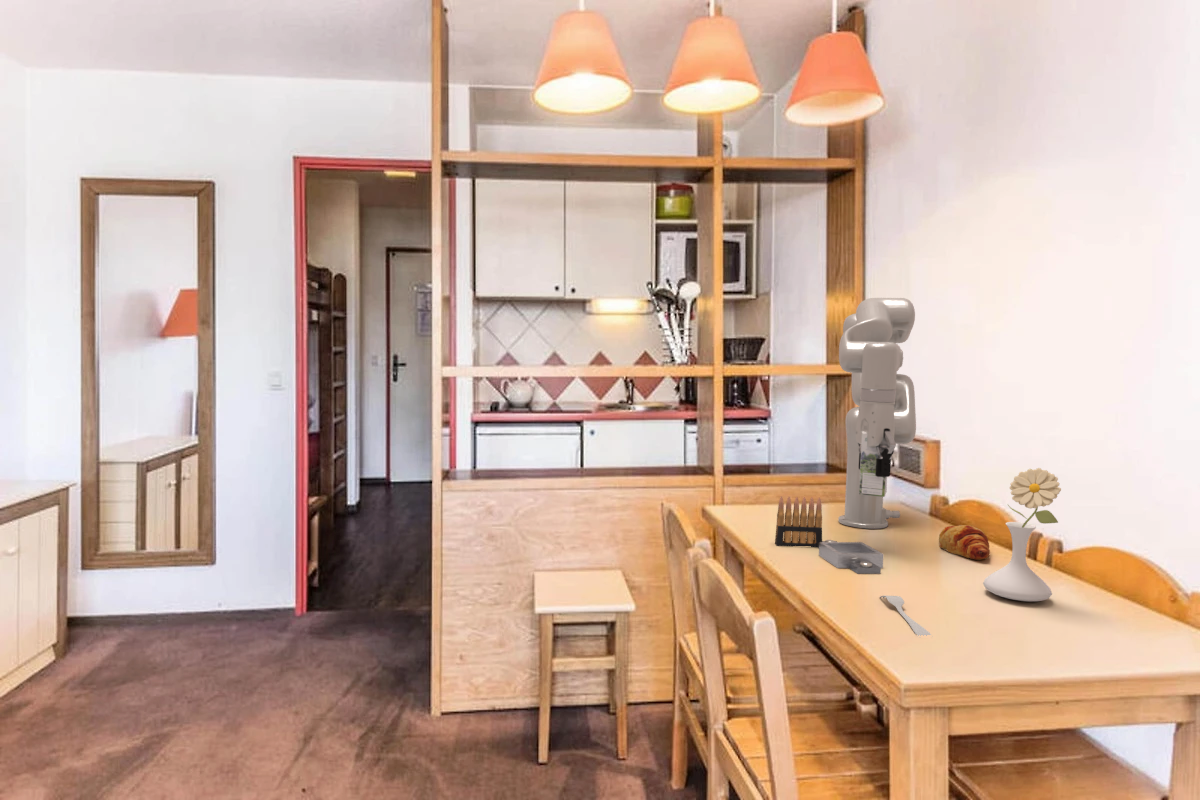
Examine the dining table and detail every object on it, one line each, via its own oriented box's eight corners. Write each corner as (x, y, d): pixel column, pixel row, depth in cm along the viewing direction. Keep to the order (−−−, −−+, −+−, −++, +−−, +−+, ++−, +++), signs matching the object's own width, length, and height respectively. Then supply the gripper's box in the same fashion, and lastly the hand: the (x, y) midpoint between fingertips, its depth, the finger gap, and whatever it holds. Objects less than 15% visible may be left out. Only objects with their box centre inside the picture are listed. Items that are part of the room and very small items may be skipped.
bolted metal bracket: (846, 546, 176) (846, 533, 176) (892, 573, 154) (892, 559, 154) (805, 546, 175) (805, 533, 175) (845, 573, 153) (846, 559, 153)
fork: (917, 654, 119) (918, 638, 118) (875, 598, 139) (876, 584, 139) (935, 655, 119) (936, 639, 118) (890, 598, 139) (891, 584, 139)
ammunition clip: (820, 547, 176) (822, 496, 176) (822, 549, 174) (824, 498, 174) (774, 545, 177) (776, 495, 176) (776, 547, 175) (778, 496, 174)
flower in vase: (968, 590, 144) (976, 462, 143) (1011, 585, 148) (1019, 460, 147) (1030, 613, 132) (1038, 472, 131) (1074, 606, 136) (1083, 470, 135)
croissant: (932, 554, 185) (918, 525, 185) (970, 536, 185) (956, 507, 184) (972, 577, 164) (956, 545, 164) (1014, 558, 163) (998, 525, 163)
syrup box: (886, 493, 174) (890, 431, 173) (884, 497, 169) (888, 433, 167) (861, 490, 176) (864, 429, 175) (858, 495, 171) (861, 432, 170)
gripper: (845, 393, 179) (842, 466, 180) (880, 400, 162) (876, 480, 163) (875, 394, 180) (871, 466, 181) (913, 400, 162) (908, 480, 164)
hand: (873, 472), depth 172 cm, fingers closed on syrup box, 7 cm apart
